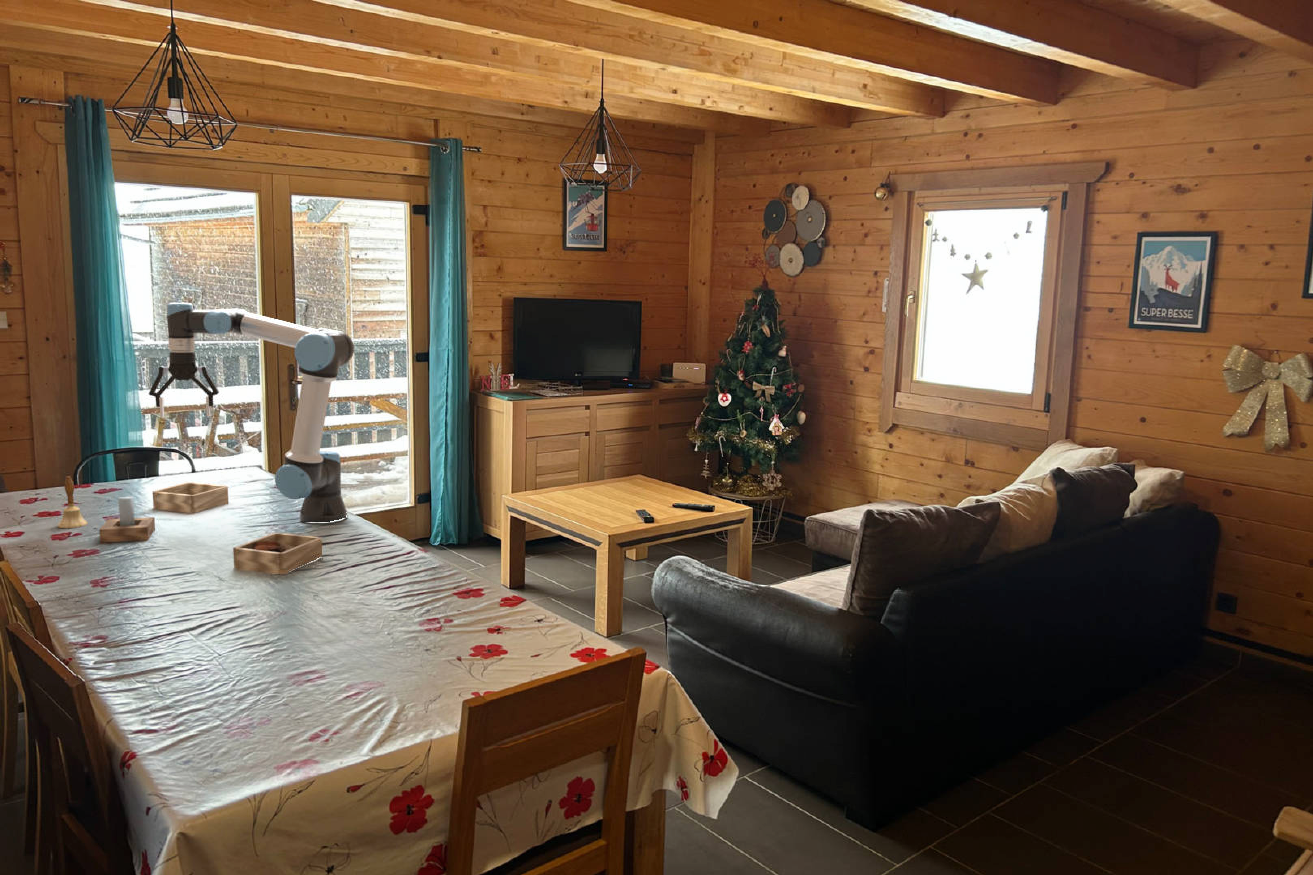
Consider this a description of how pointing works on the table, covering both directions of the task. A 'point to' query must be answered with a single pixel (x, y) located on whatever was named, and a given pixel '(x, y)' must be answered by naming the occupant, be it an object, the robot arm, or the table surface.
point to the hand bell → (71, 509)
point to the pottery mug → (268, 546)
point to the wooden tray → (190, 497)
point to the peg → (126, 511)
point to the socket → (127, 530)
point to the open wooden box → (278, 554)
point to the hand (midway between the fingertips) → (185, 416)
